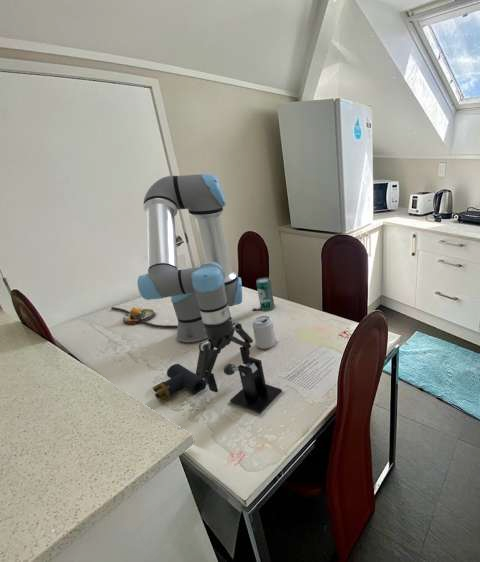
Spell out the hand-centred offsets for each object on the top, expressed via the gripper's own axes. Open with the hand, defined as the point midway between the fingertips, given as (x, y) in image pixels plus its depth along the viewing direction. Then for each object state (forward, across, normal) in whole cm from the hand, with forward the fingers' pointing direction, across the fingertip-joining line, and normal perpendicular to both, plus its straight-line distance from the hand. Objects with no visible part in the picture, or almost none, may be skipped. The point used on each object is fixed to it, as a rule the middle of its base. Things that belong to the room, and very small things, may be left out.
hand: (231, 376), depth 100 cm
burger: (+5, +19, +79) cm, 81 cm away
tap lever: (-3, 0, -5) cm, 6 cm away
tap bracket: (+6, 0, -9) cm, 11 cm away
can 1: (+6, +50, +29) cm, 58 cm away
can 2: (+6, +24, +8) cm, 26 cm away
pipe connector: (+6, -7, +18) cm, 20 cm away
